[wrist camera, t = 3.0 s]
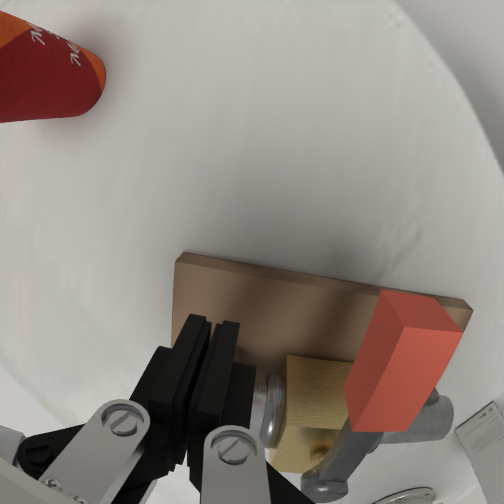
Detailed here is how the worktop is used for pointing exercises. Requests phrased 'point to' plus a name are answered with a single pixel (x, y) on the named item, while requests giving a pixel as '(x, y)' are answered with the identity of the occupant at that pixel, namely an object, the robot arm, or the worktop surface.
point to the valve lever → (386, 383)
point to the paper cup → (44, 73)
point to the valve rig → (298, 350)
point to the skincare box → (486, 450)
